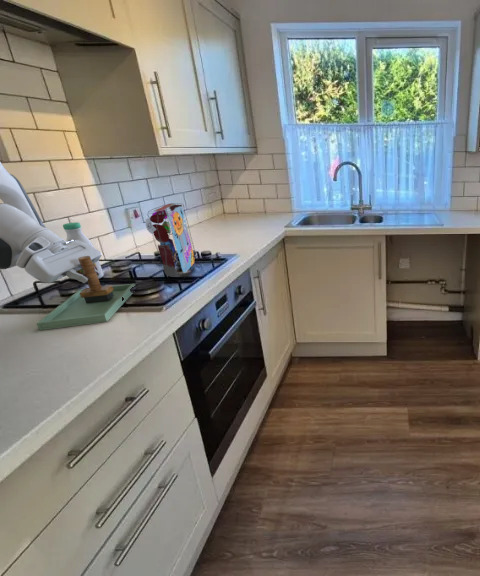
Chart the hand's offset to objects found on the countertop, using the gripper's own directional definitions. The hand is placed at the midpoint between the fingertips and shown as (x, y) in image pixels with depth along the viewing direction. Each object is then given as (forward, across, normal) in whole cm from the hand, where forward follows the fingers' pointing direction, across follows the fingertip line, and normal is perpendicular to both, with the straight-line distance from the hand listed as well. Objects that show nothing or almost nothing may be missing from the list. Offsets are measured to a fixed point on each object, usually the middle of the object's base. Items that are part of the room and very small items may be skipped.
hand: (92, 278), depth 108 cm
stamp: (+5, 0, -5) cm, 7 cm away
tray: (+6, +4, -5) cm, 9 cm away
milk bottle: (-7, -21, -19) cm, 29 cm away
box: (+16, -19, +4) cm, 25 cm away
